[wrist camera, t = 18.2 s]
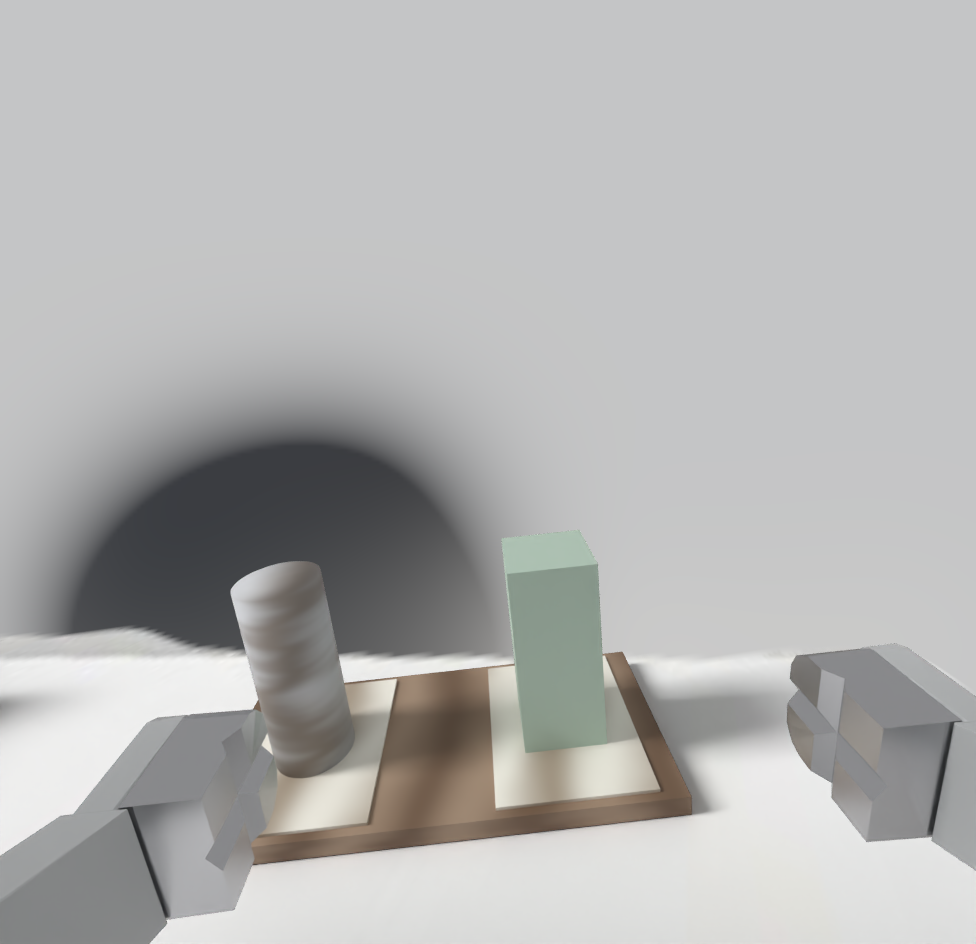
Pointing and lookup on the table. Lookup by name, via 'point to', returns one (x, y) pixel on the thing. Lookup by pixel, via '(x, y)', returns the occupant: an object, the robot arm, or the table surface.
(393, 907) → the table surface
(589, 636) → the sage green tall pillar
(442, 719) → the board
